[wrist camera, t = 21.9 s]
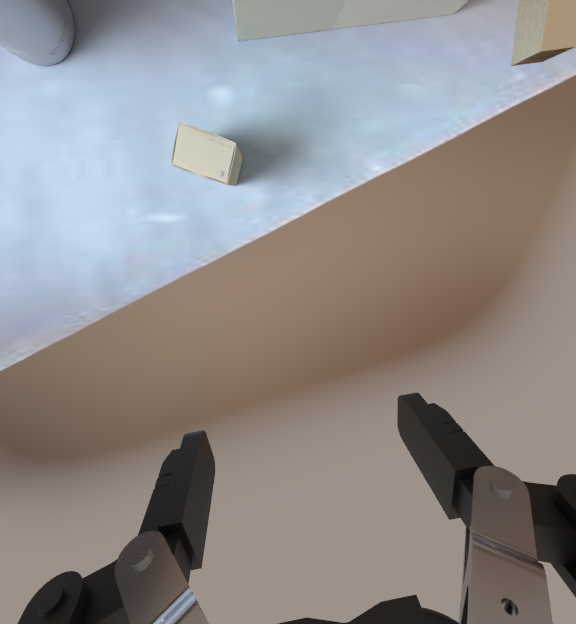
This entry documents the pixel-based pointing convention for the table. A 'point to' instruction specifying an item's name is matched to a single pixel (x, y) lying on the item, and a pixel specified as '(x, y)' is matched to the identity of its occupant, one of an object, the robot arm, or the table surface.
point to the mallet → (543, 30)
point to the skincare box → (206, 155)
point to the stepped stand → (328, 14)
